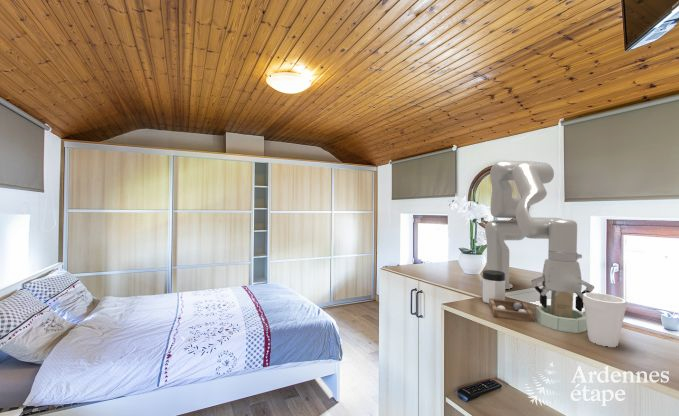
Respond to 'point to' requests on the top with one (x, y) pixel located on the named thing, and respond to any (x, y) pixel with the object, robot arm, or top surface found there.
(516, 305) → the pebble
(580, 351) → the top surface
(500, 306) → the pebble
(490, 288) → the jar
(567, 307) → the box
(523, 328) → the top surface
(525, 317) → the tray
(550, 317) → the bowl
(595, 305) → the foam cup
